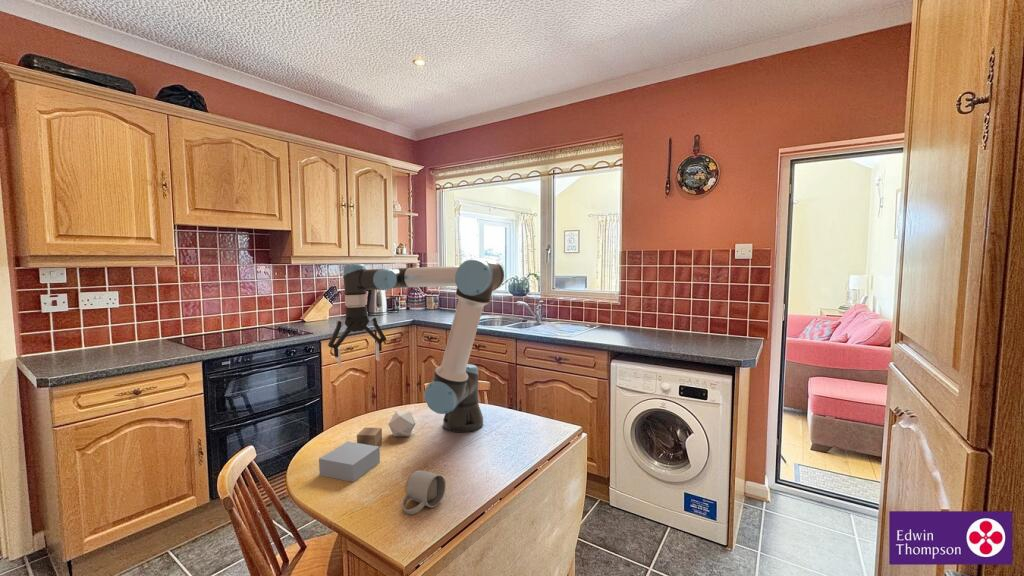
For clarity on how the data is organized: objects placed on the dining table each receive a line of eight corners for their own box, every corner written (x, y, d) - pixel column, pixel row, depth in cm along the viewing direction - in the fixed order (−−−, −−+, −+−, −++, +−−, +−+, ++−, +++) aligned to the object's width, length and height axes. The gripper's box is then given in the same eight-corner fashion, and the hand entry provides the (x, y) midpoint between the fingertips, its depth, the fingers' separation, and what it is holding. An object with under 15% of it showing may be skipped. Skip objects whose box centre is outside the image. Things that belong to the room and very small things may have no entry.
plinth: (379, 462, 127) (379, 446, 127) (353, 482, 116) (353, 464, 116) (347, 456, 131) (347, 441, 131) (319, 475, 120) (318, 458, 120)
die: (401, 444, 142) (418, 418, 144) (380, 430, 143) (397, 404, 146) (407, 442, 150) (422, 417, 152) (387, 429, 151) (403, 404, 154)
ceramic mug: (423, 489, 112) (422, 462, 112) (446, 498, 108) (445, 469, 107) (394, 510, 103) (392, 481, 102) (418, 520, 99) (417, 490, 98)
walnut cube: (382, 445, 140) (381, 427, 139) (375, 453, 134) (374, 435, 133) (364, 444, 140) (364, 427, 140) (357, 452, 134) (356, 434, 134)
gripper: (387, 302, 162) (389, 356, 163) (317, 308, 149) (321, 366, 150) (392, 304, 156) (395, 359, 157) (320, 309, 142) (324, 370, 143)
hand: (359, 363), depth 153 cm, fingers open, 13 cm apart
